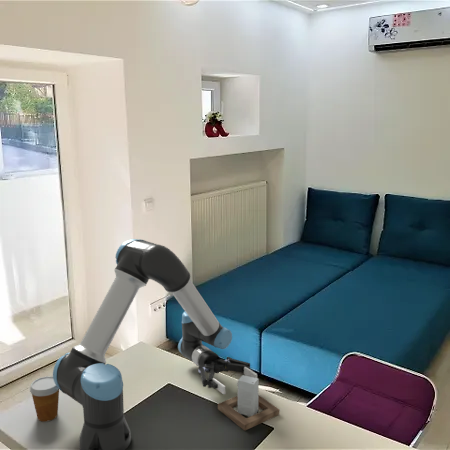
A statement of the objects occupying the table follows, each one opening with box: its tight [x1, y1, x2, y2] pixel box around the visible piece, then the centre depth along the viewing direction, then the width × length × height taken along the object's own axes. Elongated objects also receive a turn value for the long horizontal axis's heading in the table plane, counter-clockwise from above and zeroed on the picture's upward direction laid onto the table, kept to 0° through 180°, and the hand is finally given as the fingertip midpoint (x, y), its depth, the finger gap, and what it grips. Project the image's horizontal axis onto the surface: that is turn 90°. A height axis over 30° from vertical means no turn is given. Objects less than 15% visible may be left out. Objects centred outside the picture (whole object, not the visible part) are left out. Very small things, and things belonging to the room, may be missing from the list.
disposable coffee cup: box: [29, 375, 60, 423], centre depth 161 cm, size 10×10×12 cm
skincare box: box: [237, 374, 260, 417], centre depth 163 cm, size 6×4×12 cm
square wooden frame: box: [217, 394, 280, 431], centre depth 165 cm, size 15×15×2 cm
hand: (240, 384), depth 167 cm, fingers open, 13 cm apart
